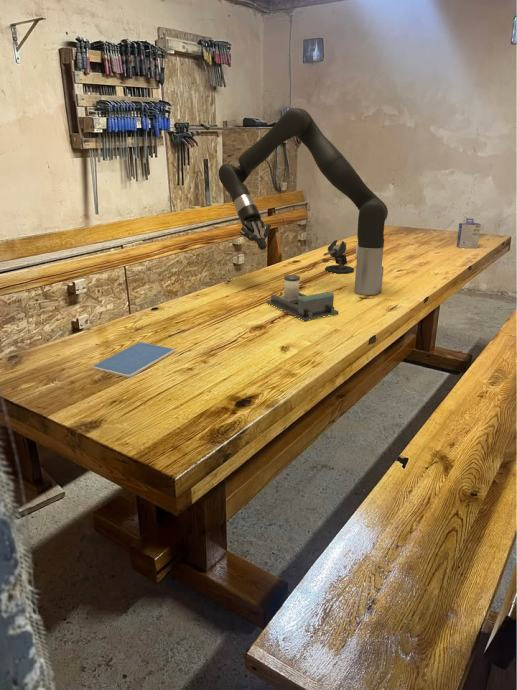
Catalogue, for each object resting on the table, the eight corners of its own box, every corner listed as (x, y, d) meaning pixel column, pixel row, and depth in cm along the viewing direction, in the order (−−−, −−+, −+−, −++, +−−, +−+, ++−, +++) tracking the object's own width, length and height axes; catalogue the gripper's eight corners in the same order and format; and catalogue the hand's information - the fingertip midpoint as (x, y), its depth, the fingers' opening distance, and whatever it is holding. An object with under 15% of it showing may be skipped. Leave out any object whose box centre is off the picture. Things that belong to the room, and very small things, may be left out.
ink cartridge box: (474, 246, 284) (478, 218, 279) (478, 248, 279) (482, 219, 273) (455, 246, 284) (459, 218, 279) (459, 248, 279) (463, 219, 274)
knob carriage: (294, 296, 191) (295, 273, 188) (304, 301, 186) (305, 277, 183) (278, 299, 187) (278, 276, 184) (287, 304, 182) (288, 280, 179)
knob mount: (299, 297, 194) (299, 279, 192) (338, 314, 177) (339, 294, 175) (266, 303, 188) (266, 285, 185) (303, 321, 170) (304, 301, 168)
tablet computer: (130, 380, 131) (129, 375, 130) (90, 370, 136) (90, 365, 136) (176, 353, 147) (176, 348, 146) (139, 345, 152) (139, 341, 152)
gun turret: (311, 274, 226) (313, 243, 221) (333, 265, 241) (335, 236, 236) (339, 279, 219) (341, 247, 215) (359, 269, 235) (361, 239, 230)
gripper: (234, 204, 194) (252, 244, 189) (265, 202, 201) (283, 240, 196) (227, 217, 200) (244, 256, 195) (258, 215, 207) (275, 252, 202)
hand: (264, 248), depth 195 cm, fingers closed
